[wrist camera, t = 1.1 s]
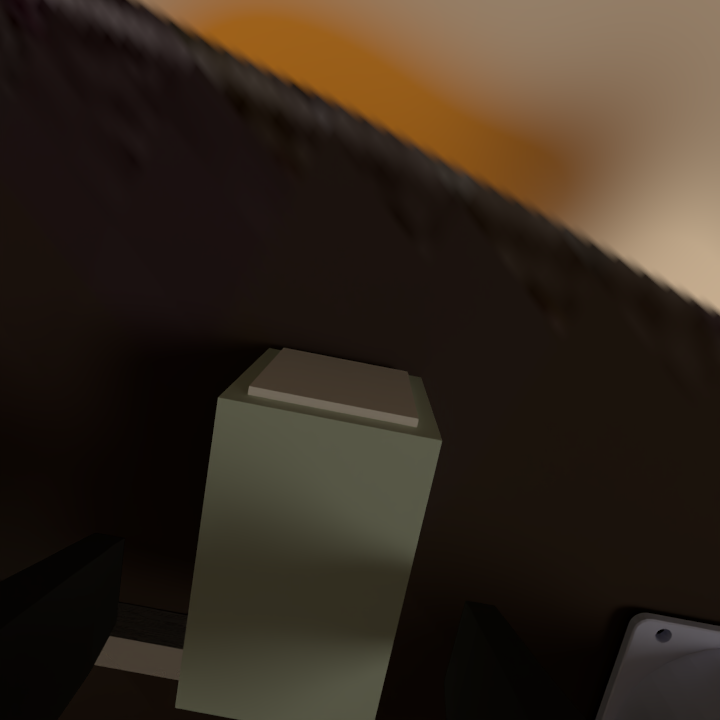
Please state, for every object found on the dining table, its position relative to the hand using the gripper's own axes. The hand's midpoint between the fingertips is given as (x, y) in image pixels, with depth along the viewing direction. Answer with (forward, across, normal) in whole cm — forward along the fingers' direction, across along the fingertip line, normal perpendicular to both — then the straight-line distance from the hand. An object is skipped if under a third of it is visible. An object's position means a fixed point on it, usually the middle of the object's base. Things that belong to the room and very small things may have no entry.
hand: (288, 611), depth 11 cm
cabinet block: (+7, 0, 0) cm, 7 cm away
